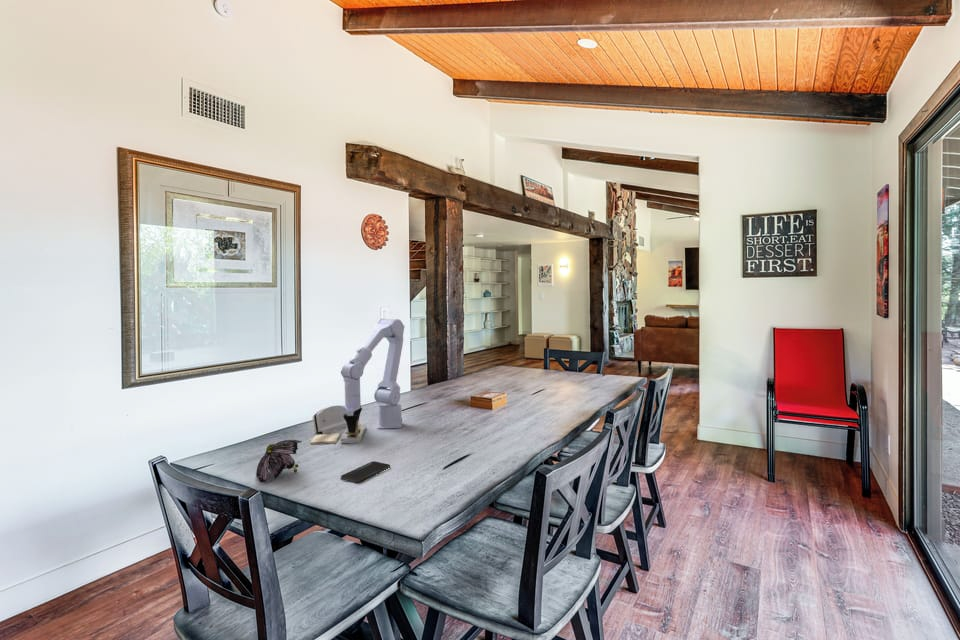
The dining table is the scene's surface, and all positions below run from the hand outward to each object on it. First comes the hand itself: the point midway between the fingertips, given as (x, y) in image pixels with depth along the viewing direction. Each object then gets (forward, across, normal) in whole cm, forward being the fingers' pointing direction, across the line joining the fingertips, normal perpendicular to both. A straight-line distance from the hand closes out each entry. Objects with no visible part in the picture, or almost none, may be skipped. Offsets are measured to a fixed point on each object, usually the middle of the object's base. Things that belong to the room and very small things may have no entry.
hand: (353, 429), depth 189 cm
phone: (+3, +38, +9) cm, 39 cm away
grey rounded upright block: (+3, -13, -10) cm, 17 cm away
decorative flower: (+3, +36, -17) cm, 40 cm away
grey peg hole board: (+3, -1, 0) cm, 3 cm away
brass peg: (+3, 0, 0) cm, 3 cm away
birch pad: (+3, +2, -10) cm, 11 cm away
